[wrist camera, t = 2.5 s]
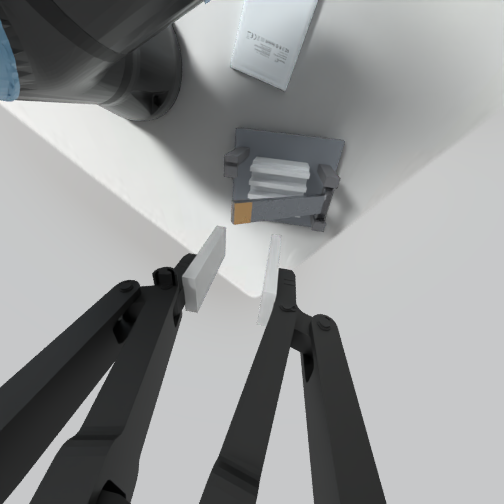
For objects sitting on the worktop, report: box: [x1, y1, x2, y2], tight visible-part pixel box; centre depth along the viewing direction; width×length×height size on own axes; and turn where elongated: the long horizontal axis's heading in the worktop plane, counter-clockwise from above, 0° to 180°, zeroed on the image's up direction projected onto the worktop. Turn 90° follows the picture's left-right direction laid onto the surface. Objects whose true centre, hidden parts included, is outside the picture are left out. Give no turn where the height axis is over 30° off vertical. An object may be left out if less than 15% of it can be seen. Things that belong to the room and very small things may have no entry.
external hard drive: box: [230, 0, 318, 91], centre depth 26 cm, size 2×8×12 cm
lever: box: [231, 186, 334, 225], centre depth 26 cm, size 14×4×1 cm
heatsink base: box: [224, 128, 345, 232], centre depth 32 cm, size 16×14×10 cm
